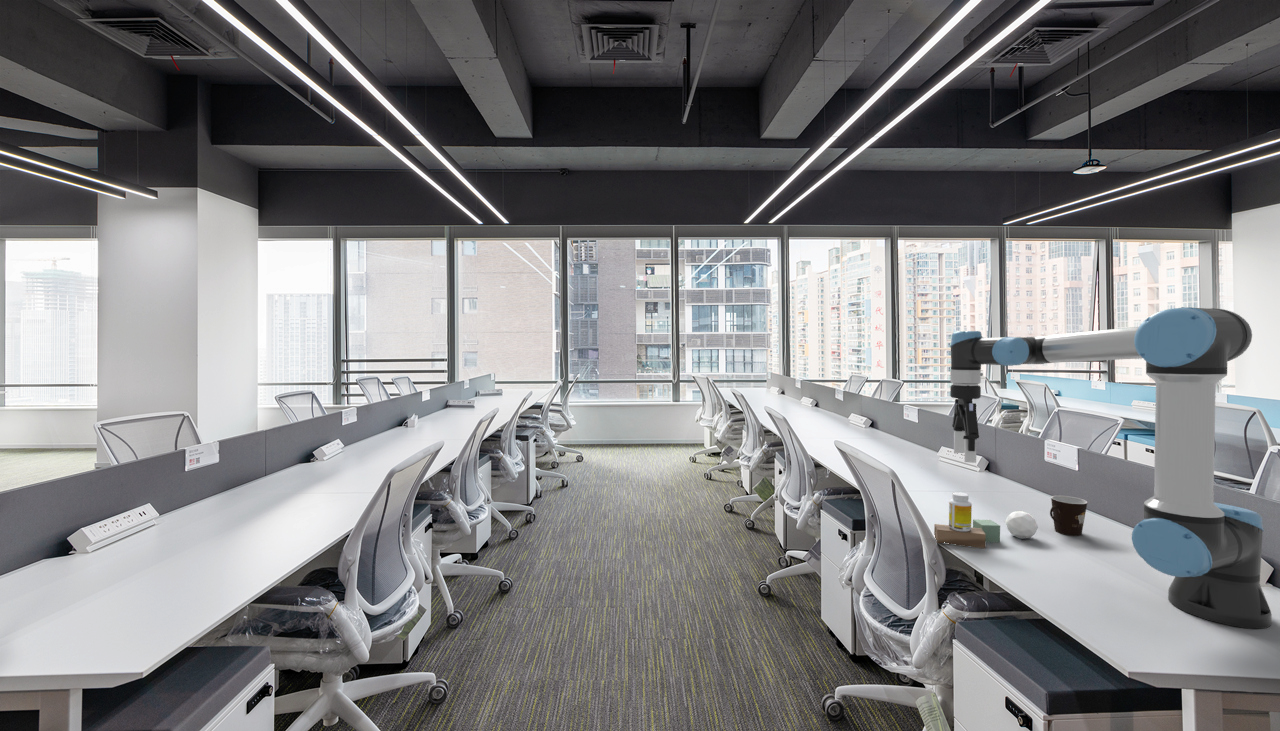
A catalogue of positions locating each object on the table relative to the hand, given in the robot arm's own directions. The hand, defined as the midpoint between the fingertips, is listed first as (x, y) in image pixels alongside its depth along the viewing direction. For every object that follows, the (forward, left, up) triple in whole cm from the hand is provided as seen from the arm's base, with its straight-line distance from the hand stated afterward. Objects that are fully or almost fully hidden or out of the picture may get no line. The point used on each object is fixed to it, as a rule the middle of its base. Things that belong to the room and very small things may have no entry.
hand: (964, 457), depth 157 cm
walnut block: (-3, +1, -24) cm, 25 cm away
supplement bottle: (-3, +1, -21) cm, 21 cm away
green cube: (+3, -7, -25) cm, 26 cm away
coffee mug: (+17, -30, -25) cm, 42 cm away
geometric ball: (+8, -17, -25) cm, 31 cm away
